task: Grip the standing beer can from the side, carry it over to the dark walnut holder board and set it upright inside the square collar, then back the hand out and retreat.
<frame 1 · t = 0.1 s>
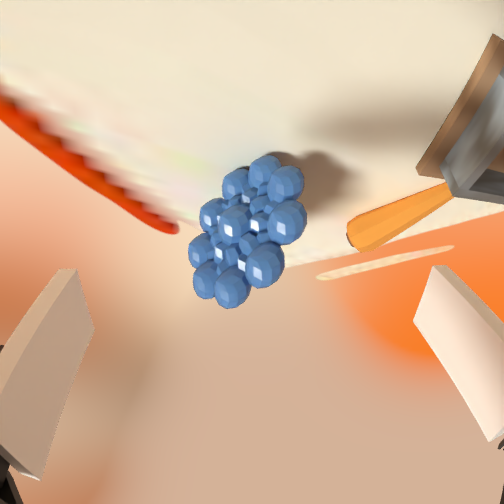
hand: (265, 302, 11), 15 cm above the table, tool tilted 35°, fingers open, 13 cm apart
carrot: (420, 192, 31), on the table
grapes: (247, 174, 28), on the table
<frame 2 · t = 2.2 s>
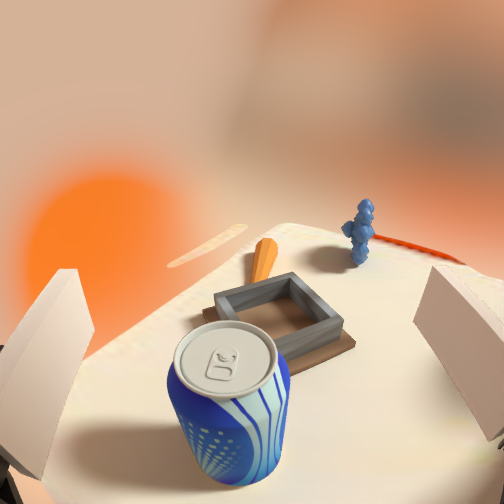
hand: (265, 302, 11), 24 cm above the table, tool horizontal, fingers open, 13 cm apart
carrot: (257, 282, 55), on the table, touching holder
holder: (275, 331, 43), on the table
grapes: (354, 258, 60), on the table
beer can: (238, 454, 27), on the table
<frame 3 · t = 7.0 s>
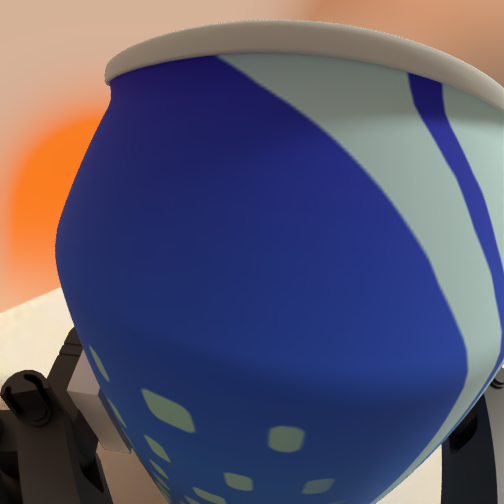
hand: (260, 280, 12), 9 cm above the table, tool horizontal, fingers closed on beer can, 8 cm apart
beer can: (261, 487, 12), on the table, touching gripper
when the fingers open (11 cm above the table, at t = 12.3 s): beer can drops 1 cm, resting on holder.
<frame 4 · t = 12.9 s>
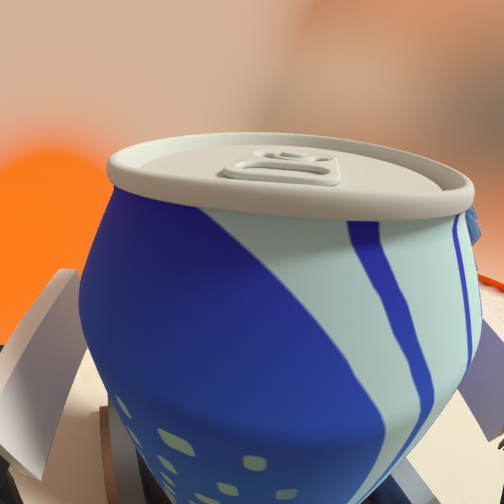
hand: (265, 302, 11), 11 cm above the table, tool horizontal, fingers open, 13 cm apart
holder: (257, 499, 13), on the table
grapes: (427, 306, 30), on the table
beer can: (259, 492, 13), point 1 cm above the table, touching holder
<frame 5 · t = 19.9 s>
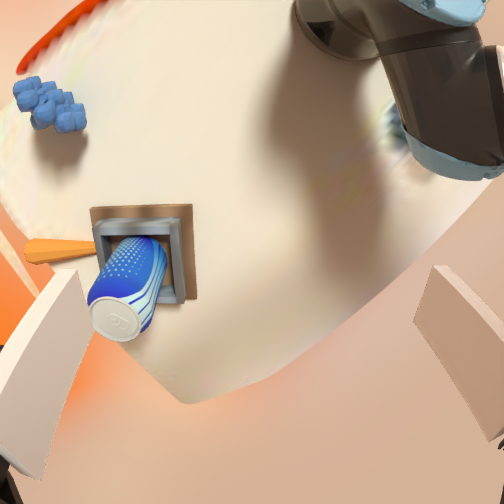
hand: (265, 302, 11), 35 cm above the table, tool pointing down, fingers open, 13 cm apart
carrot: (77, 246, 46), on the table, touching holder
holder: (144, 253, 47), on the table
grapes: (67, 106, 36), on the table
beer can: (142, 254, 47), point 1 cm above the table, touching holder
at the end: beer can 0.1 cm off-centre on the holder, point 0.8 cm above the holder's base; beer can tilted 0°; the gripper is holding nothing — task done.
